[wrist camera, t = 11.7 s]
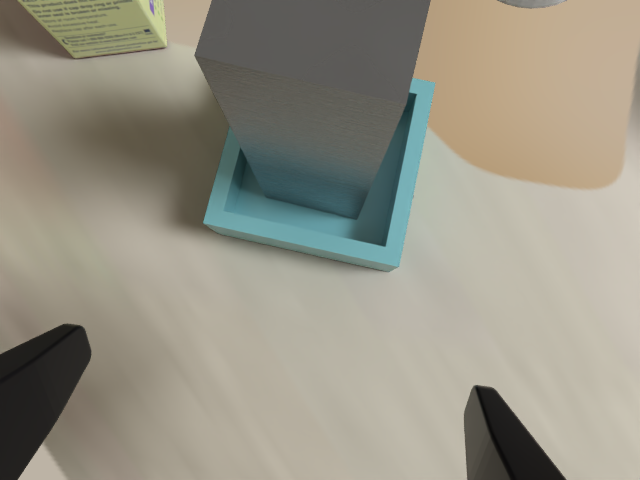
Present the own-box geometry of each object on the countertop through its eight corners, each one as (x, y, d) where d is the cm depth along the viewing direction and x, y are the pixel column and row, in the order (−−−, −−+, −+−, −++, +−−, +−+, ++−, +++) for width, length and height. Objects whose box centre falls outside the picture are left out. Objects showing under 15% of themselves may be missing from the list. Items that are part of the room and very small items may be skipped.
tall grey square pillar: (357, 219, 22) (406, 104, 10) (265, 197, 23) (194, 55, 10) (378, 132, 23) (449, -83, 10) (289, 112, 23) (251, -125, 11)
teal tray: (388, 272, 23) (398, 266, 20) (218, 233, 23) (202, 223, 20) (421, 109, 24) (435, 82, 21) (260, 75, 25) (251, 44, 22)
